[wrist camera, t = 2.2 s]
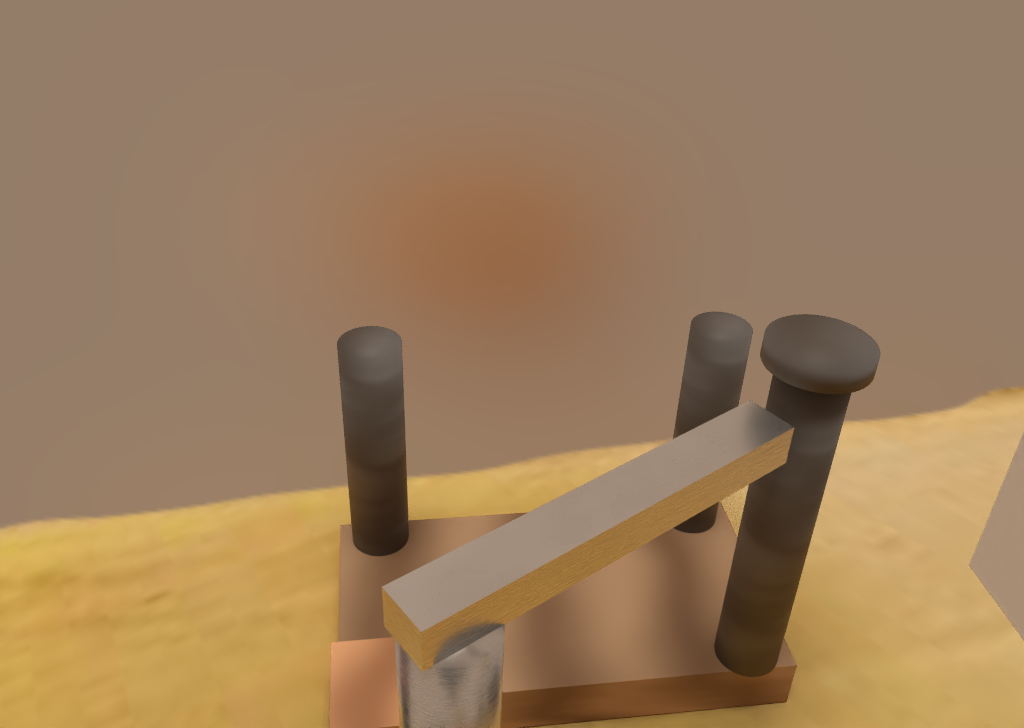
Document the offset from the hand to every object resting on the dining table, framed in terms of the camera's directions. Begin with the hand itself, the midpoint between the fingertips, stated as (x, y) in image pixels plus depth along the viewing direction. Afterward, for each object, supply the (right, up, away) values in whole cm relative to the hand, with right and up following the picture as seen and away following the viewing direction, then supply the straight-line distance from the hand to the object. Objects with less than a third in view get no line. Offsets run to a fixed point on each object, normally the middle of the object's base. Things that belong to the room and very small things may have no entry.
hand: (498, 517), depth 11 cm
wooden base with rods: (+2, -11, +36) cm, 38 cm away
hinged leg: (+3, -14, +26) cm, 30 cm away
